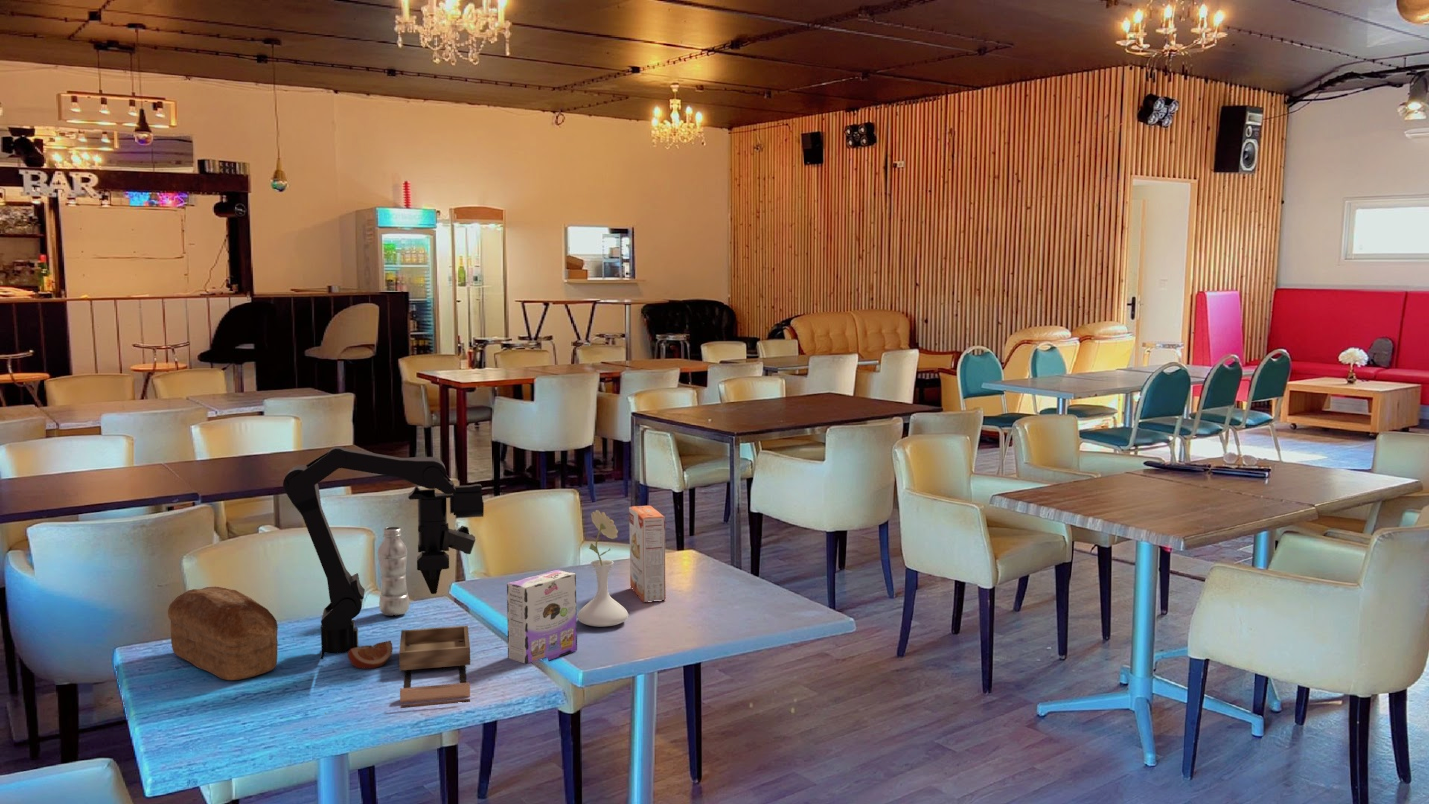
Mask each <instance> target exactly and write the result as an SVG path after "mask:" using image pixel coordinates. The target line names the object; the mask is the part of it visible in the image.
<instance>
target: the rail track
mask: <svg viewBox="0 0 1429 804" xmlns="http://www.w3.org/2000/svg"><path fill="white" fill-rule="evenodd" d="M412 671H413V669H411V670H404V681H403V687H401V688H400V690H399V702H400V709H406V708H417V707H427V706H437V705H439V706H440V705H446V704H447V705H450V704H459V703H458V702H462V703H471V698H468V697H471V684H470V683H471V682H467V672H466V665H460V666H458V673H459V674H458V675H459V683H448V684H447V683H446V684H437V685H425V686H424V685H423V686H412V685H411V684H412V673H413V672H412ZM411 686H412V687H411ZM459 698H460V699H459ZM461 698H463V699H461ZM449 699H450V700H449ZM451 699H452V700H451ZM435 700H438V701H435ZM440 700H442V701H440ZM425 701H426V702H425ZM427 701H428V702H427ZM429 701H430V702H429ZM412 702H413V703H412ZM414 702H417V703H414ZM419 702H420V703H419ZM404 703H405V704H404ZM406 703H408V704H406Z"/></svg>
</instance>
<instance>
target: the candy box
mask: <svg viewBox="0 0 1429 804" xmlns="http://www.w3.org/2000/svg"><path fill="white" fill-rule="evenodd" d="M506 596H507V597H506V600H507V601H506V603H507V604H506V607H507V609H506V610H507V611H506V612H507V658H508V659H509V660H512V661H516V662H519V663H522V664H525V665H526V664H529V663H533V662H537V661H540V660H542V659H545V658H547V661H551V660H554V659H557V658H560V657H562V656H565V655H567V654H571V653H574V652H576V651H578V628H577V627H578V625H577V620H578V618H577V615H578V613H577V575H576V573H574V572H571V571H568V570H567V571H566V570H562V569H555V570H552V571H547V572H544V573H540V574H537V575H533V576H529V577H526V578H525V577H524V578H522V579H518V580H517V579H516V580H515V581H511V582H507V583H506Z"/></svg>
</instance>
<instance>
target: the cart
mask: <svg viewBox="0 0 1429 804" xmlns="http://www.w3.org/2000/svg"><path fill="white" fill-rule="evenodd" d="M469 634H470V633H469V625H457V626H446V627H445V626H444V627H443V626H442V627H430V628H417V629H404V630H403V629H402V630H401V632H400V641H399V649H398V650H399V652H398V654H399V655H398V656H399V657H398V659H399V661H398V662H399V663H398V664H399V671H405V670H411V669H412V670H422V669H423V670H424V669H433V668H434V669H436V668H442V667H443V668H445V667H446V668H447V667H459V666H460V665H465V666H470V665H471V643H470V635H469Z"/></svg>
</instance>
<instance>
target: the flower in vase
mask: <svg viewBox="0 0 1429 804" xmlns="http://www.w3.org/2000/svg"><path fill="white" fill-rule="evenodd" d="M590 516H591V522H592V524H594V525H595V528H596V529H597V530H598V533H597V535H596V539H595V545H594V544H593V543H590V546H589V550H591V551H592V552H594V553H595V554H597V557H598V560H594V561H592V562H590V564H591V566H592V567H593V568H594V570H595V574H596V580H597V581H596V582H597V591H596V593H595V596H594V598H592V599H591V600H590V601H588V602H587V603H586V604H585V605H584V606H583V607H581V609H580V610H579V611H578V613H577V620H578V621H579V622H580V623H582V624H584V625H587V626H590V627H600V628H601V627H612V626H617V625H620V624H623V622H626V620H627V619H628V617H629V612H628V611H627V609H626V608H625V607H624V606H623V605H621V604H620V603H619V602H618V601H616V599H614V598H612V597H611V595H610V593H609V587H608V585H609V584H608V582H609V575H610V574H609V573H610V571H611V568H612V566H613V565H614V561H613V560H610V559H601V556H603V555H604V554H606V553H607V552H609V551H611V548H609V549H608V550H606V551H603V552H602V553H601V554H600V552H599V549H598V540H599V538H600V534H602V535H603V536H605V537H607V538H608V539H611V540H615V539H616V538H618V533H619V530H618V529H617V526H616V525H615V524H614V523H615V521H614V520H613V519H610V517H609V516H608V515H606V513H605V512H604V511H603V512H600V510H597V509H596V510H595V511H592V513H590Z"/></svg>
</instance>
